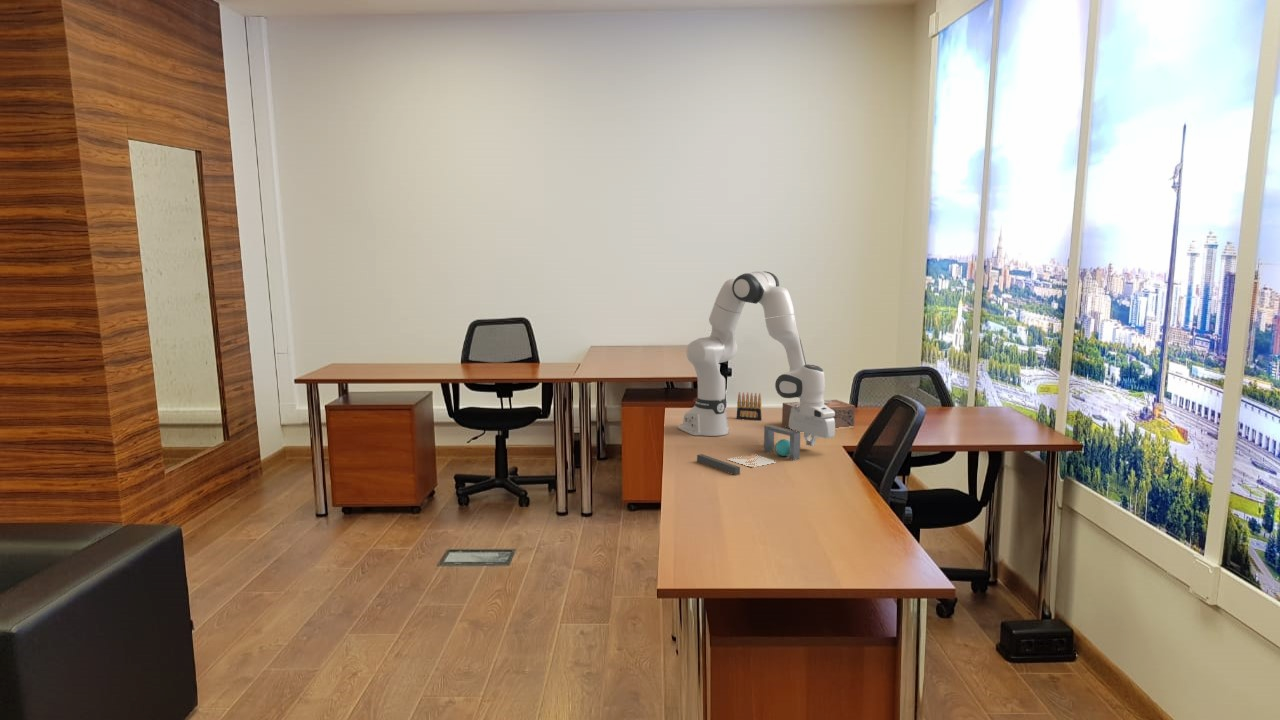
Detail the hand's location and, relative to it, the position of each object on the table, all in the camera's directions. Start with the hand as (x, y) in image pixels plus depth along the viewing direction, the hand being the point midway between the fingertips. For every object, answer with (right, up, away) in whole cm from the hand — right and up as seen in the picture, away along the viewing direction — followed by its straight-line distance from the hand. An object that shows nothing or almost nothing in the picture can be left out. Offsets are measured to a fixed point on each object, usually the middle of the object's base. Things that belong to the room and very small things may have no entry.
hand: (810, 445), depth 304 cm
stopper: (-37, -5, -25) cm, 45 cm away
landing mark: (-24, -4, -16) cm, 29 cm away
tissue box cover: (+11, +3, +38) cm, 40 cm away
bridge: (-12, -3, -8) cm, 15 cm away
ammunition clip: (-16, +6, +52) cm, 55 cm away
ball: (-11, 0, -9) cm, 15 cm away
